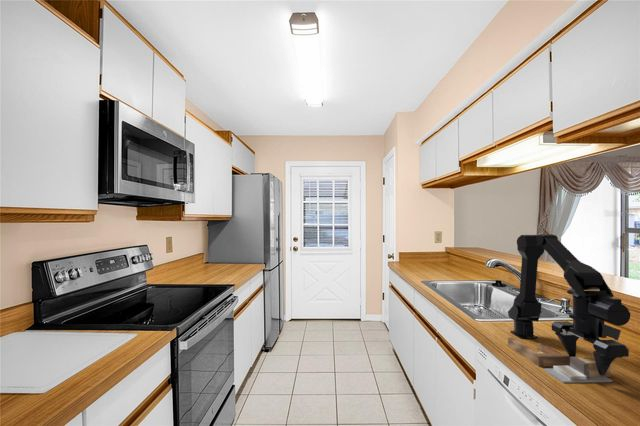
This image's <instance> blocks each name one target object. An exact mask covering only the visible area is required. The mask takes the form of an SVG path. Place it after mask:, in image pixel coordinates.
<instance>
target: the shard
mask: <svg viewBox="0 0 640 426" xmlns="http://www.w3.org/2000/svg"><path fill="white" fill-rule="evenodd" d="M535 352H537V353H538V354H562V353H561V352H559V351H557V350H555V349H554V348H552V347H550V346H548V345H545V344H543V343H541V342H539V341H538V344H537V346H536V347H535Z"/></svg>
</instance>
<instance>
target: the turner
mask: <svg viewBox="0 0 640 426" xmlns="http://www.w3.org/2000/svg"><path fill="white" fill-rule="evenodd" d="M611 364H612V363H611ZM611 364H610V366H609V368H608V370H607V372H606V374H605V375H604V376H601V375H600V374H599V372H598V369H597V365H596V361H595V358H594V357H570V366H552V368H553V369H554V370H556V371H557V372H559V373H560V374H562V375H563V376H565V377H566V378H568V379H570V380H586V378H589V377H607V378H609V377H612V375H611V373H612V371H611V369H612V368H611V366H612V365H611Z"/></svg>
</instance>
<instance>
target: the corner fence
mask: <svg viewBox="0 0 640 426" xmlns="http://www.w3.org/2000/svg"><path fill="white" fill-rule="evenodd" d="M507 346H508V347H509V348H510V349H512V350H514V351H515V352H517V353H518V354H520V355H521V356H523V358H525V359H527V360H529V362H532V364H534V365H536V366H537V367H553V366H570V356H569V355H568V353H561V354H538V353H537V352H536V350H533V349H532V348H530V347H528V346H527V345H525V344H523V343H522V342H520V341H519V340H517V339H515V338H513V337H511V336H510V337H507Z"/></svg>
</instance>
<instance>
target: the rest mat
mask: <svg viewBox="0 0 640 426" xmlns="http://www.w3.org/2000/svg"><path fill="white" fill-rule="evenodd" d="M543 371H545V372H547V373H548V374H549V375H550V376H552V377H554V378H555V379H557V380H558V381H560V382H561V383H563V384H568V383H569V384H570V383H571V384H572V383H574V384H576V383H583V384H584V383H613V379H611V378H609V377H589V378H586V380H570V379H568V378H566V377H565V376H563V375H562V374H560V373H559V372H557V371H556V370H554V369H553V367H551V368H546V367H545V368H543Z"/></svg>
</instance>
